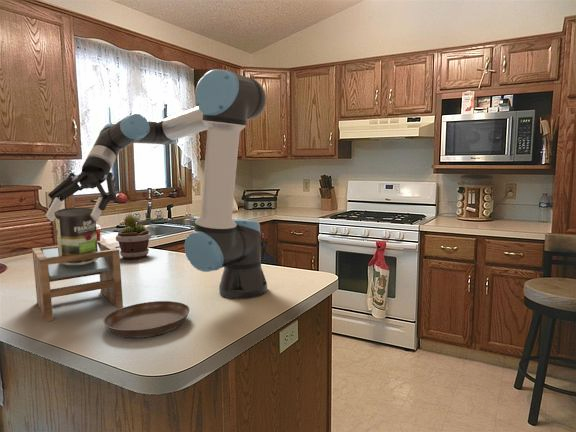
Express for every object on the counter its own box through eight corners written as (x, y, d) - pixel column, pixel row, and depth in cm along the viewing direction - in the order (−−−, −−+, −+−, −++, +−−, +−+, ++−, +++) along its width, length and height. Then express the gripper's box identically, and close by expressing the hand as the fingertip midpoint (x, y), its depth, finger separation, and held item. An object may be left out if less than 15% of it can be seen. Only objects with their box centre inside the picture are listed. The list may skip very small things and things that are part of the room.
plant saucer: (86, 332, 103) (85, 319, 102) (153, 307, 120) (152, 296, 120) (142, 350, 92) (141, 335, 91) (206, 320, 109) (206, 307, 109)
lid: (109, 270, 121) (109, 267, 120) (50, 279, 112) (50, 276, 112) (96, 245, 132) (97, 242, 131) (42, 251, 123) (42, 249, 122)
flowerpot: (157, 257, 184) (154, 212, 181) (120, 262, 175) (117, 215, 173) (147, 252, 196) (145, 209, 193) (113, 256, 187) (110, 212, 185)
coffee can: (106, 258, 122) (103, 211, 118) (73, 268, 113) (69, 218, 109) (83, 250, 126) (80, 205, 123) (50, 260, 118) (46, 211, 114)
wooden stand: (122, 305, 121) (119, 249, 119) (45, 321, 109) (39, 260, 107) (106, 290, 136) (103, 240, 134) (37, 302, 125) (32, 248, 123)
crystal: (106, 243, 200) (145, 235, 221) (97, 235, 203) (136, 228, 224) (102, 255, 203) (141, 246, 224) (93, 247, 205) (132, 239, 226)
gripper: (141, 171, 130) (118, 226, 117) (68, 172, 134) (38, 226, 121) (131, 154, 124) (106, 209, 112) (55, 156, 128) (22, 210, 115)
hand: (71, 218), depth 116 cm, fingers open, 13 cm apart
